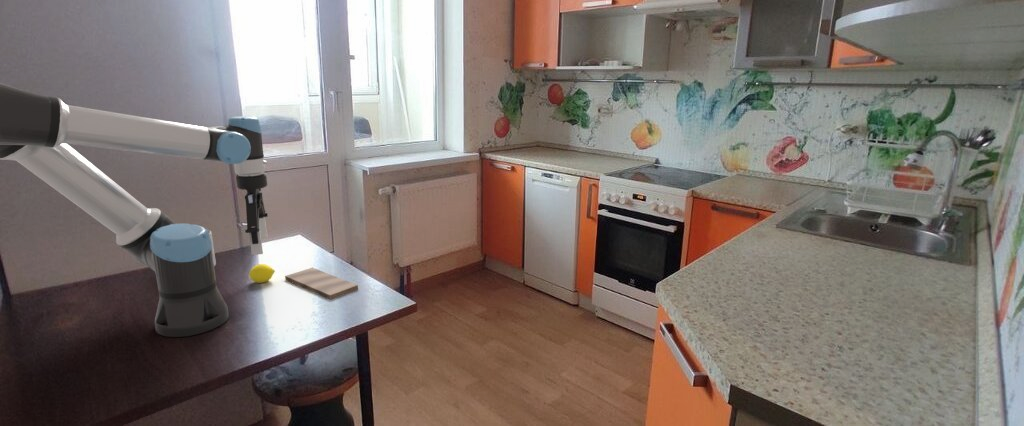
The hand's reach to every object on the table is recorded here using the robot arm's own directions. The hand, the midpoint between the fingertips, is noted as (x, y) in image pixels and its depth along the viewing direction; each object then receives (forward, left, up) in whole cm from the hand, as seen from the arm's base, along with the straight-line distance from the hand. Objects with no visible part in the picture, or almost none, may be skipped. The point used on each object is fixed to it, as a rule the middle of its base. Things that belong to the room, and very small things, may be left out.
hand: (260, 246), depth 147 cm
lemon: (0, 0, -11) cm, 11 cm away
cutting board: (-7, -16, -11) cm, 20 cm away
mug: (+19, +21, -11) cm, 30 cm away
